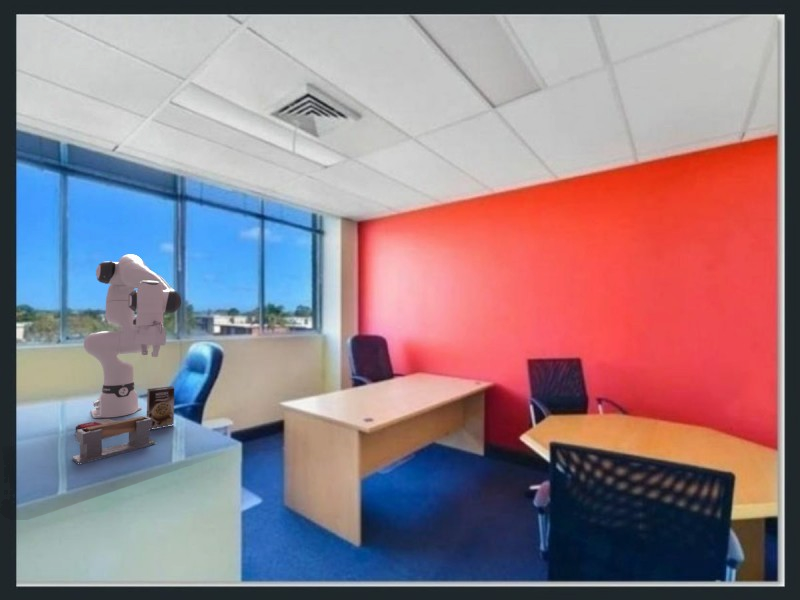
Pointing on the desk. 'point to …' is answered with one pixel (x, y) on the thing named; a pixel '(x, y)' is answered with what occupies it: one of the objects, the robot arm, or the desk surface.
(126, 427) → the rail
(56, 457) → the desk surface
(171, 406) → the coffee box
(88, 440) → the bracket
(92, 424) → the calculator
